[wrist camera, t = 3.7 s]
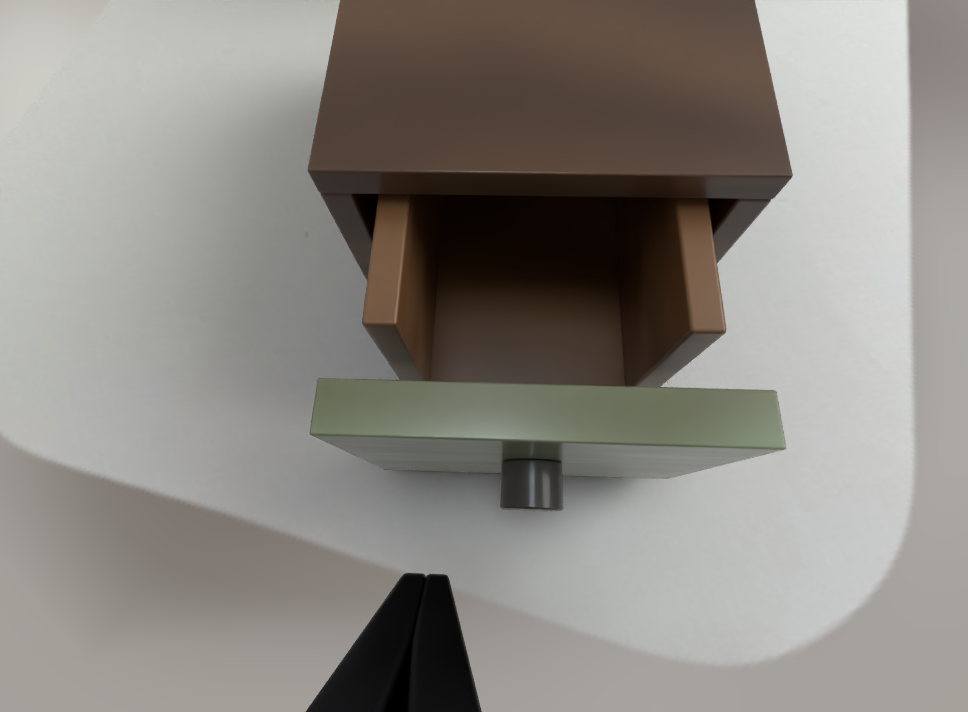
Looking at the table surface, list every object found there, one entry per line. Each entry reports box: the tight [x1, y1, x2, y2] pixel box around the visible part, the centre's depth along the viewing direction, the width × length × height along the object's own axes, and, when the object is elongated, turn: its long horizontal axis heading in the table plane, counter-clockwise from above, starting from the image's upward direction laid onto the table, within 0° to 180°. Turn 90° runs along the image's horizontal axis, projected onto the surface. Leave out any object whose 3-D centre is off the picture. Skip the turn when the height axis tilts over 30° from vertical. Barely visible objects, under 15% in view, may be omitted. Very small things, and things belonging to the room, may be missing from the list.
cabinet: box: [308, 0, 793, 280], centre depth 17 cm, size 14×11×9 cm
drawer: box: [310, 194, 786, 511], centre depth 14 cm, size 14×9×7 cm
